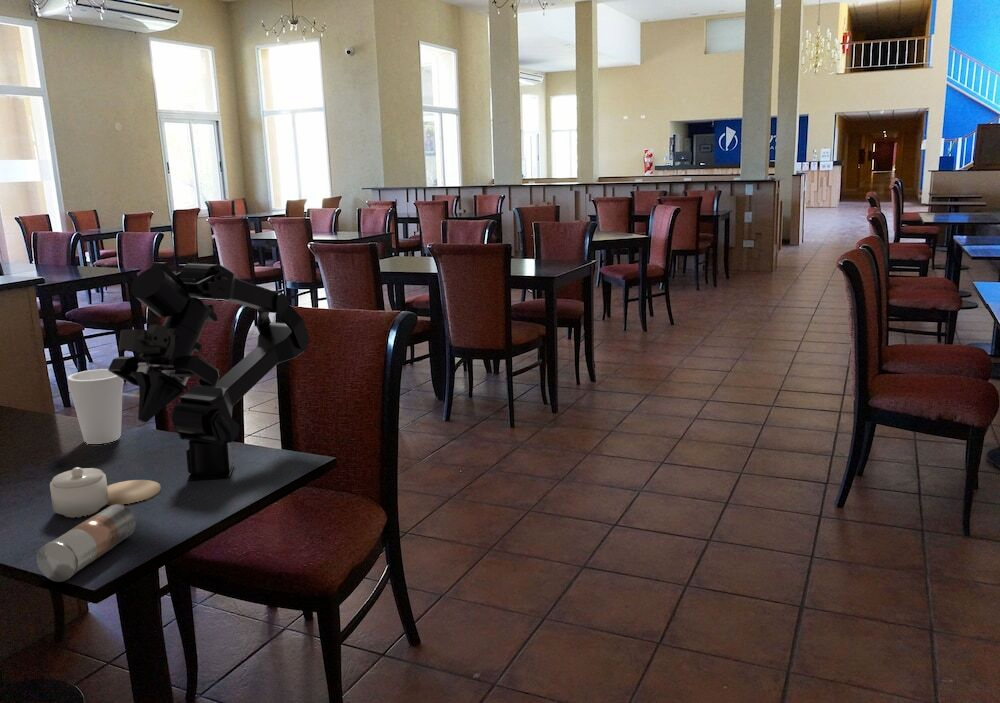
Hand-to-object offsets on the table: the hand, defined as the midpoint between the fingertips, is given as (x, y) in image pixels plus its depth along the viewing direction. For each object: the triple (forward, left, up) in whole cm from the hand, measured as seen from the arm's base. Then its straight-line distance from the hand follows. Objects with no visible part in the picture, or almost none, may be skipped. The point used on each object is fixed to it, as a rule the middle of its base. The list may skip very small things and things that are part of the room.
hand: (142, 421), depth 122 cm
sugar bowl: (+10, 0, -14) cm, 17 cm away
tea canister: (+1, +11, -11) cm, 16 cm away
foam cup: (+17, -35, -14) cm, 41 cm away
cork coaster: (+5, -6, -14) cm, 16 cm away
